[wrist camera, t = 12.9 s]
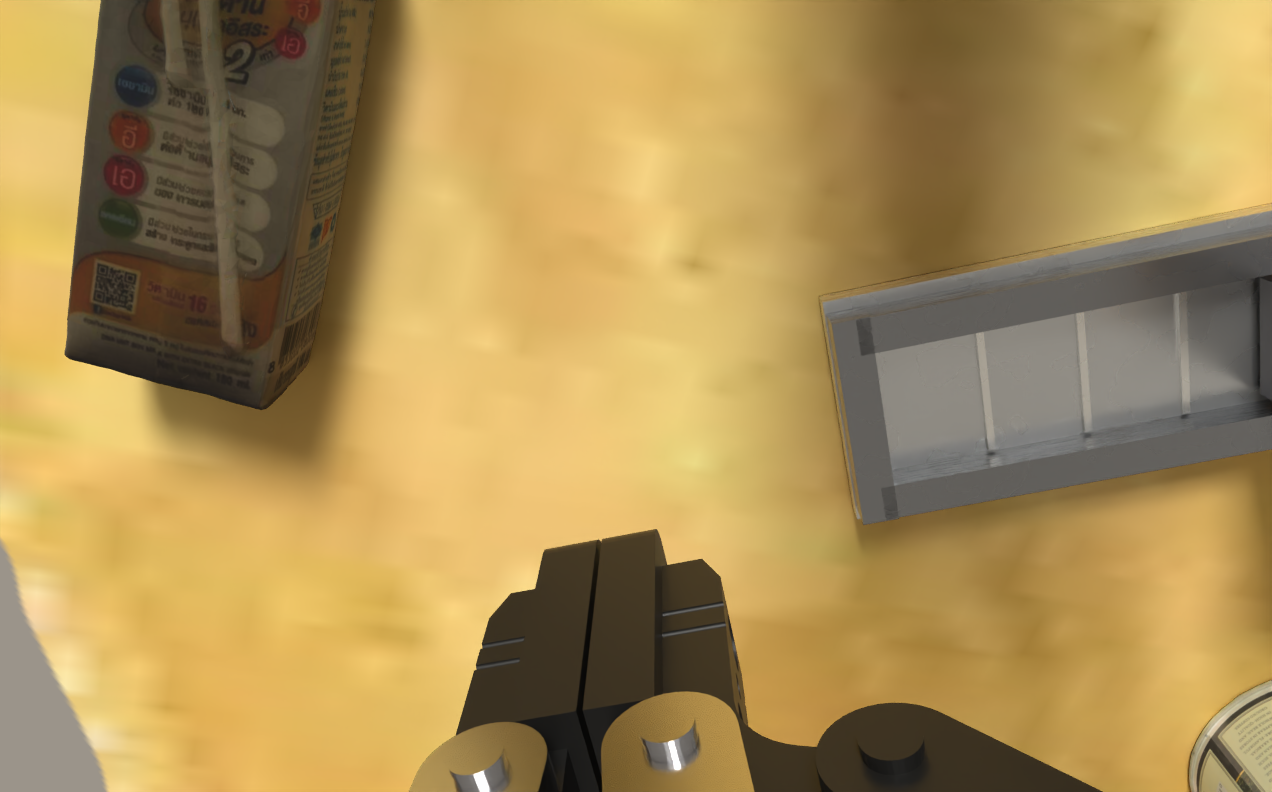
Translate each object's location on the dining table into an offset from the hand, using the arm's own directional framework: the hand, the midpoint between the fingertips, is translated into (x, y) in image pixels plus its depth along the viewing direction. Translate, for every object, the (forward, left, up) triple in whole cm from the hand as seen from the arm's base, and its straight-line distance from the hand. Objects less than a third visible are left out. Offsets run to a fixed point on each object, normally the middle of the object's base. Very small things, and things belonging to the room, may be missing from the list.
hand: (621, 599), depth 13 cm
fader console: (+3, +20, -29) cm, 36 cm away
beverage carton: (-1, -16, -30) cm, 33 cm away
